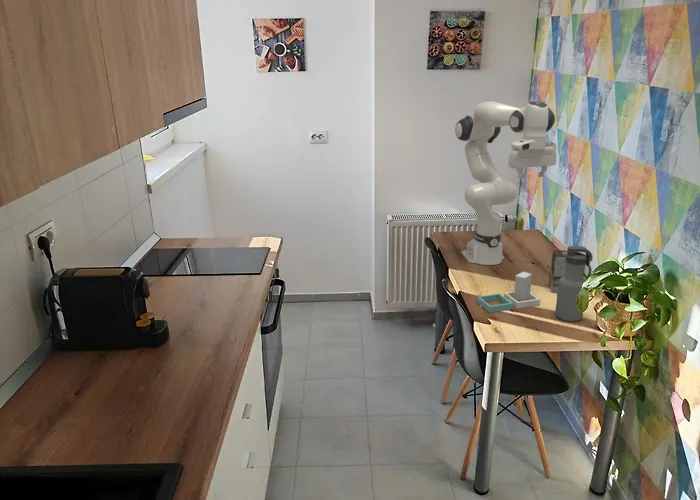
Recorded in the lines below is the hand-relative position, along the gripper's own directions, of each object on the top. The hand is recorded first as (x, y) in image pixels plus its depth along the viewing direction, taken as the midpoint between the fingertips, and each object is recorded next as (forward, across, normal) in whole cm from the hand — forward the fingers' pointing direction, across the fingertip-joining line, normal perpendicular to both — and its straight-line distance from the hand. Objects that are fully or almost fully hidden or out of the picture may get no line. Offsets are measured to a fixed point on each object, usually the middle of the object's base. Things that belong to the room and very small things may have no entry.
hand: (531, 177), depth 220 cm
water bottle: (+48, 0, +33) cm, 58 cm away
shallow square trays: (+48, +16, +16) cm, 53 cm away
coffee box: (+48, -12, +9) cm, 50 cm away
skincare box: (+48, +10, +16) cm, 51 cm away
